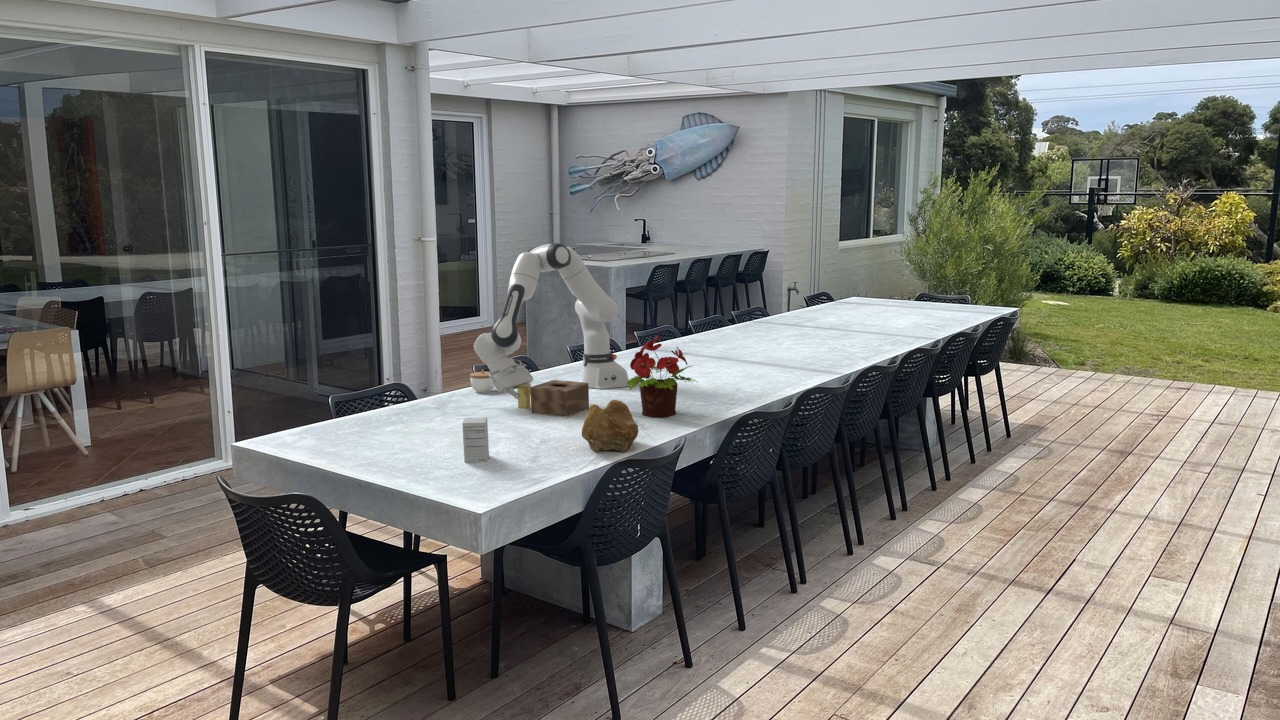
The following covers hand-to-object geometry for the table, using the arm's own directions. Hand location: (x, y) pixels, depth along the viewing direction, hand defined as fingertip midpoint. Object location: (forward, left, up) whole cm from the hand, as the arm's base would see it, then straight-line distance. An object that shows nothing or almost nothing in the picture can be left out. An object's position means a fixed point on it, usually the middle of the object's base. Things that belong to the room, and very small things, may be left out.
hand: (525, 395), depth 370 cm
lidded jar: (+15, -37, -5) cm, 40 cm away
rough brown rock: (-23, +69, -5) cm, 73 cm away
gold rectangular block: (0, 0, -5) cm, 5 cm away
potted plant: (-47, +27, -5) cm, 54 cm away
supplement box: (+21, +71, -5) cm, 74 cm away
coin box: (-13, +9, -5) cm, 16 cm away
